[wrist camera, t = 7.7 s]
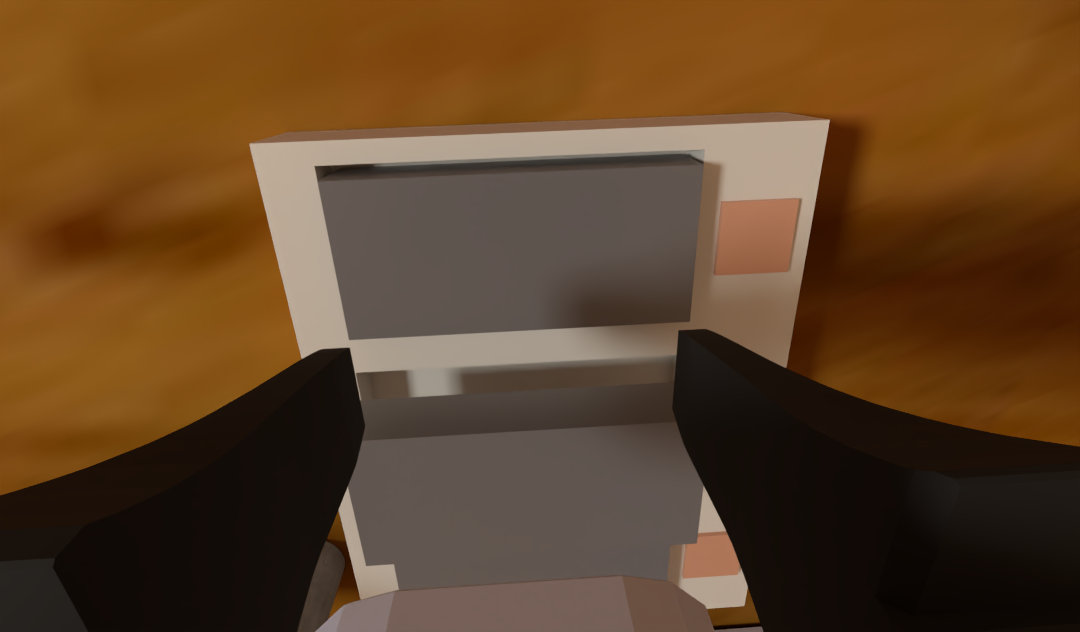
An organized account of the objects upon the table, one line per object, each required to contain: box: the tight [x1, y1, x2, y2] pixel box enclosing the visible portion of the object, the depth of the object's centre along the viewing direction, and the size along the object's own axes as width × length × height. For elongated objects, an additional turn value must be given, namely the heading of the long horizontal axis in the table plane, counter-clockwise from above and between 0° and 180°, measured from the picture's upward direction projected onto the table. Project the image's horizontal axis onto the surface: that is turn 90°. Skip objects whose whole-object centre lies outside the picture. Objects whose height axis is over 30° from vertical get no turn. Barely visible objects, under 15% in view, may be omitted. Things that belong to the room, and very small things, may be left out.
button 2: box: [317, 154, 704, 340], centre depth 18 cm, size 11×5×2 cm, turn 92°
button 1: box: [394, 545, 670, 590], centre depth 23 cm, size 11×5×2 cm, turn 92°
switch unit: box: [249, 112, 830, 609], centre depth 22 cm, size 17×21×3 cm
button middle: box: [348, 382, 704, 566], centre depth 18 cm, size 11×5×2 cm, turn 92°
